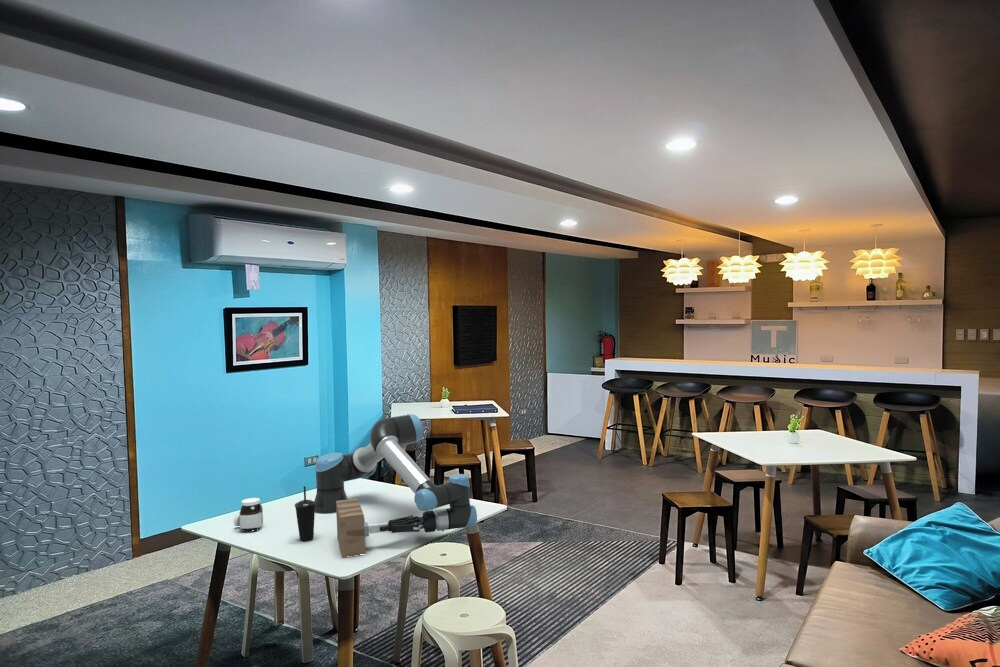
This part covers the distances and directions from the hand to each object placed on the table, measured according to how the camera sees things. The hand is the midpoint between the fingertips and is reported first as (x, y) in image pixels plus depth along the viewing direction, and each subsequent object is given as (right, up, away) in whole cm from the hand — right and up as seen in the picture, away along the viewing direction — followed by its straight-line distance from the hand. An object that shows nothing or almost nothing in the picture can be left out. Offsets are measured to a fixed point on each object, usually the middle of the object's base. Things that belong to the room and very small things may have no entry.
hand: (369, 529), depth 227 cm
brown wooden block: (-8, -7, +3) cm, 11 cm away
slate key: (-3, -2, -1) cm, 4 cm away
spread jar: (-54, -9, +28) cm, 62 cm away
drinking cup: (-26, -8, +12) cm, 30 cm away
